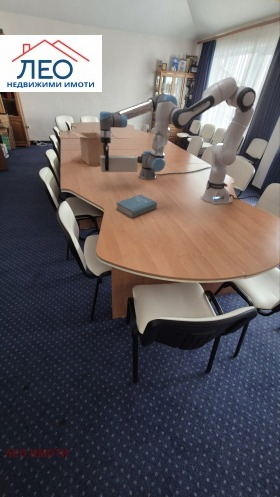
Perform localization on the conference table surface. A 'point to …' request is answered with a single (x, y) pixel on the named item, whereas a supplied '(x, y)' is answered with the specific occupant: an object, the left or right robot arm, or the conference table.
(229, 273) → the conference table surface
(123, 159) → the long box
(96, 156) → the box
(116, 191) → the conference table surface
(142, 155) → the laser sight
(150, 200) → the book
